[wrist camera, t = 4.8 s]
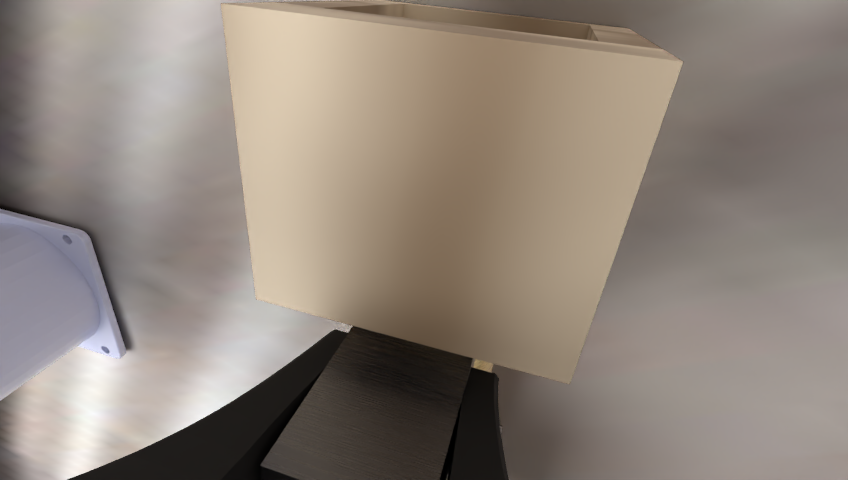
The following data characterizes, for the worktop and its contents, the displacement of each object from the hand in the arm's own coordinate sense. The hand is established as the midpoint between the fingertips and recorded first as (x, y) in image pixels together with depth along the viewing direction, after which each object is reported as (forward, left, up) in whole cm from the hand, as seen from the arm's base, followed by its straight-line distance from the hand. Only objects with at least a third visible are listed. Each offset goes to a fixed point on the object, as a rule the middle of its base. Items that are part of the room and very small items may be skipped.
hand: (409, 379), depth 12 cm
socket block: (0, +5, -6) cm, 8 cm away
